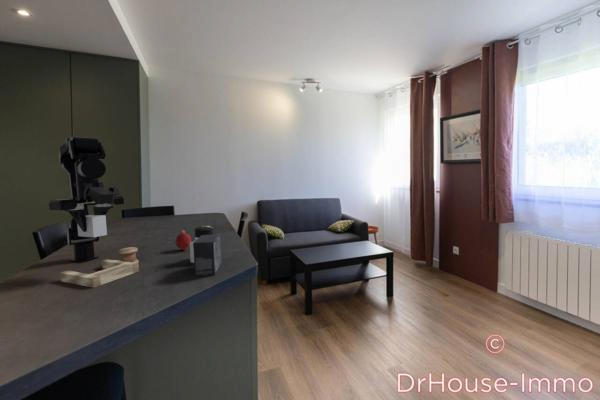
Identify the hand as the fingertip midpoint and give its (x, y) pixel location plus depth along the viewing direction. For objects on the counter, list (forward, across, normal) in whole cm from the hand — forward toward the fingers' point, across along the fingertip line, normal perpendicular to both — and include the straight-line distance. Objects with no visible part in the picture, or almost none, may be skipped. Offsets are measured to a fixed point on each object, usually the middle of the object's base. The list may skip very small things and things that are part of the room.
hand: (92, 230), depth 89 cm
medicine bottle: (+14, +22, -23) cm, 35 cm away
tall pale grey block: (+2, 0, 0) cm, 2 cm away
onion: (+14, +30, -6) cm, 34 cm away
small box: (+14, +14, -31) cm, 37 cm away
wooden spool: (+13, +10, -1) cm, 17 cm away
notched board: (+14, -1, -4) cm, 14 cm away
